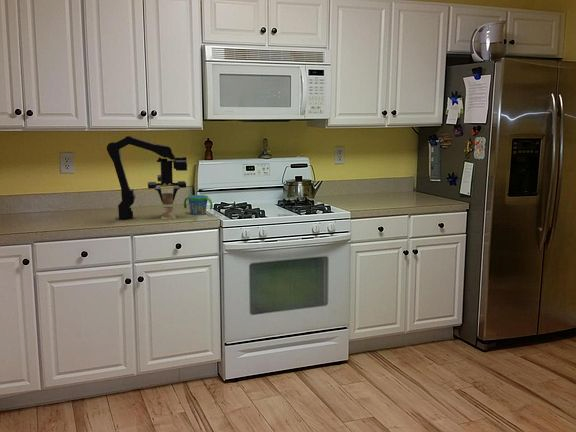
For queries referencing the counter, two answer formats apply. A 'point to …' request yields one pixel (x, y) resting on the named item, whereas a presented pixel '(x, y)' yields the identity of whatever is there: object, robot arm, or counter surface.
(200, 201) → the snack cup
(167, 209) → the birch block
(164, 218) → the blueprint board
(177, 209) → the counter surface
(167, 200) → the walnut block
